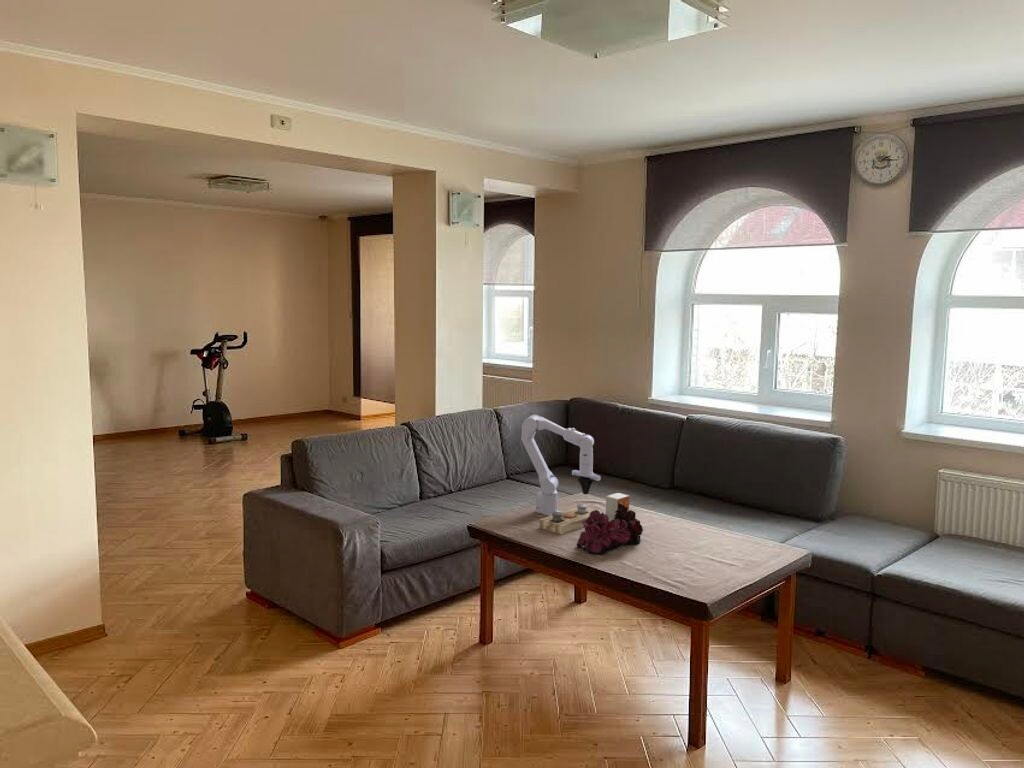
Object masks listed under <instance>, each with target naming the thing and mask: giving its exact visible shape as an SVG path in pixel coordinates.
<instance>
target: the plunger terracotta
mask: <svg viewBox="0 0 1024 768" xmlns="http://www.w3.org/2000/svg"><path fill="white" fill-rule="evenodd" d="M564 516H565V518H568V519H572V518H574V517H575V514H573V513H566V514H564Z"/></svg>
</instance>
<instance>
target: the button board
mask: <svg viewBox="0 0 1024 768" xmlns="http://www.w3.org/2000/svg"><path fill="white" fill-rule="evenodd" d="M590 512H591V510H588V509H586V514H584V515H581V514H578V508H577V507H575V508H572V509H569V510H565V511H562V512H561V513H562V516H561V522H560V523H555V522H553V516H545V517H543V518H540V519H539V528H540V529H543V530H546V531H550V532H552V533H556V534H557V535H564V534H567V533H569V532H572V531H575V530H578V529H581V528H585V527H584V526H583V523H582V521H584V520H585V521H586V520H587V519H588V517H589V516H590ZM566 513H573V514H575V517H574V518H572V519H568V518H565V516H564V514H566Z"/></svg>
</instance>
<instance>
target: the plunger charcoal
mask: <svg viewBox="0 0 1024 768" xmlns="http://www.w3.org/2000/svg"><path fill="white" fill-rule="evenodd" d="M552 516H553V522H555V523H560V522H561V516H562V512H553V513H552Z"/></svg>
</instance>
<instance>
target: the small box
mask: <svg viewBox="0 0 1024 768" xmlns="http://www.w3.org/2000/svg"><path fill="white" fill-rule="evenodd" d="M618 503H620V504H622V505H624V506H625V507H628V509H627V511H629V510H630V495H629V494H624V493H619V492H615V493H611V494H609V495H606V496H605V514H606V515H608V517H609V522H610V521H611V520H614V518H615V517H616V516H614V515H615V514H616V513H615V511H616V510H618Z"/></svg>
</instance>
